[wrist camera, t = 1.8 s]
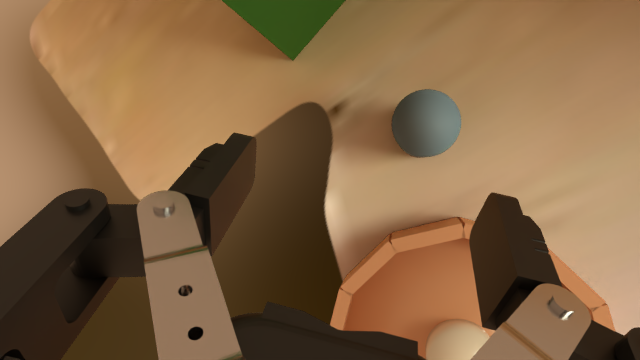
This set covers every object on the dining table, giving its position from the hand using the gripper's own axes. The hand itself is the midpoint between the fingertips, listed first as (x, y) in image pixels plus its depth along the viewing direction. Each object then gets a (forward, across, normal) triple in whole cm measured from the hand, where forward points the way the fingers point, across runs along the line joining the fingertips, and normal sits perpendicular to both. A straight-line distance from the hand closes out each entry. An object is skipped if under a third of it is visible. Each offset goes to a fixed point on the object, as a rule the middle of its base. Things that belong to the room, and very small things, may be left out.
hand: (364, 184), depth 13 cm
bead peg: (+22, -5, +9) cm, 24 cm away
